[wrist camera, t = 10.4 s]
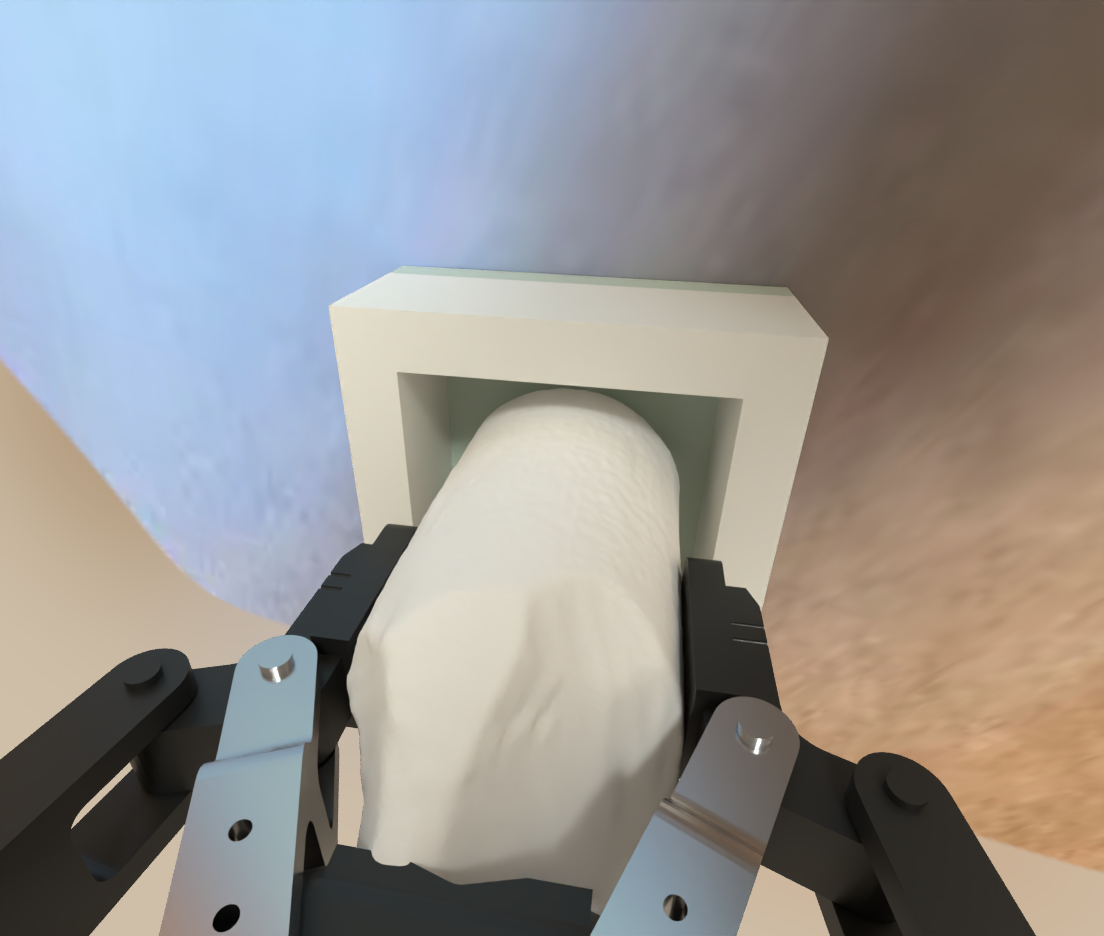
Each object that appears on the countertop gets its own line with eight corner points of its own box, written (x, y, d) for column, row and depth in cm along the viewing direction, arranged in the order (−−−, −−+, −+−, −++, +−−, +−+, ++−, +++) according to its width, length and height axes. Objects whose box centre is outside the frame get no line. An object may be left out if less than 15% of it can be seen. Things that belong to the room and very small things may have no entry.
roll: (842, 1093, 6) (527, 1173, 9) (724, 472, 16) (599, 597, 19) (275, 803, 5) (120, 998, 8) (535, 340, 15) (432, 491, 18)
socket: (787, 287, 16) (828, 338, 12) (723, 596, 21) (738, 702, 17) (402, 265, 17) (328, 305, 13) (430, 562, 22) (381, 654, 18)
